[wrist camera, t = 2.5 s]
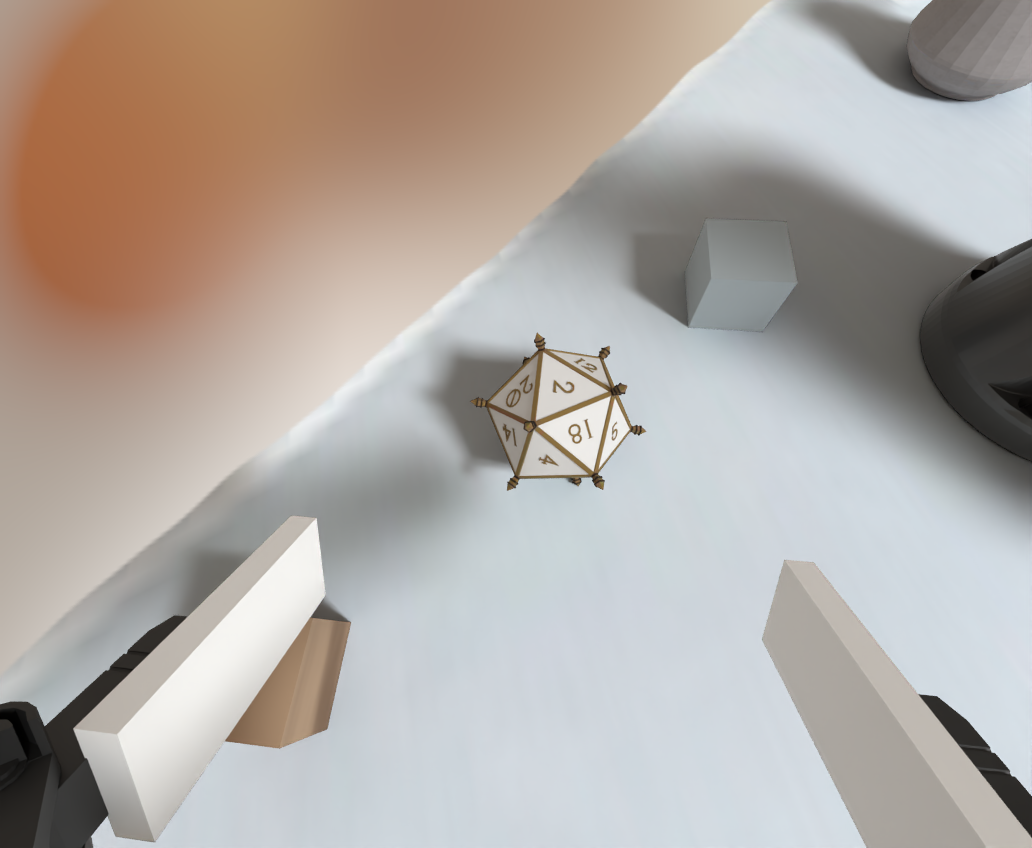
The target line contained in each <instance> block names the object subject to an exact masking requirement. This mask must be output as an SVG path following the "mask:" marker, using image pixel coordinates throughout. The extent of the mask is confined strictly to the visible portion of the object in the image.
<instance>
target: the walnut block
mask: <svg viewBox="0 0 1032 848" xmlns="http://www.w3.org/2000/svg"><path fill="white" fill-rule="evenodd" d="M350 625H351V622H342V621H334V620H326V619H317V618H309V620H308V621H307V623H306V624H305V626H304V627H303V628H302V630H301V631H300V633H299V634H298V636H297V637H296V639H295V640H294V642H293V643H292V644H291V646H290V647H289V649H288V650H287V652H286V653H285V655H284V656H283V657H282V659H281V660H280V662H279V663H278V665H277V666H276V668H275V669H274V671H273V672H272V673H271V675H270V676H269V678H268V679H267V681H266V682H265V684H264V685H263V686H262V688H261V689H260V691H259V692H258V694H257V695H256V697H255V698H254V700H253V701H252V702H251V704H250V705H249V707H248V708H247V710H246V711H245V713H244V714H243V715H242V717H241V718H240V720H239V721H238V723H237V724H236V726H235V727H234V729H233V730H232V731H231V733H230V734H229V736H228V737H227V739H226V740H225V741H228V742H235V743H243V744H250V745H258V746H265V747H273V748H282V747H284V746H287V745H289V744H292V743H294V742H297V741H299V740H302V739H304V738H307V737H309V736H311V735H314V734H316V733H319V732H321V731H324V730H326V729H327V728H328V723H329V719H330V714H331V710H332V705H333V701H334V696H335V692H336V687H337V683H338V679H339V674H340V670H341V665H342V661H343V656H344V652H345V647H346V643H347V638H348V634H349V629H350Z"/></svg>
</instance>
